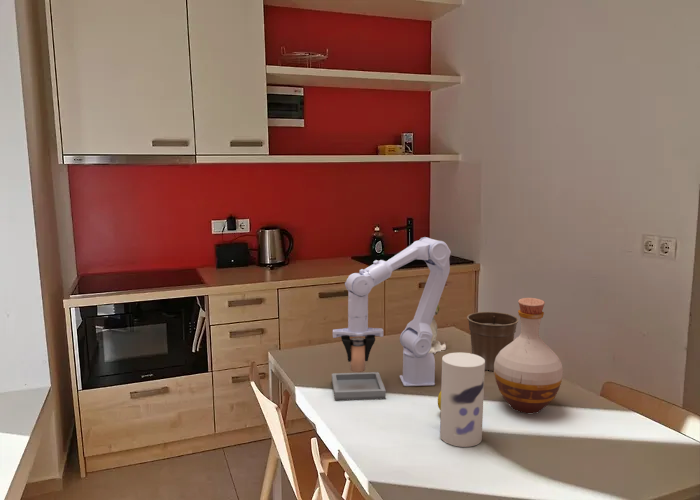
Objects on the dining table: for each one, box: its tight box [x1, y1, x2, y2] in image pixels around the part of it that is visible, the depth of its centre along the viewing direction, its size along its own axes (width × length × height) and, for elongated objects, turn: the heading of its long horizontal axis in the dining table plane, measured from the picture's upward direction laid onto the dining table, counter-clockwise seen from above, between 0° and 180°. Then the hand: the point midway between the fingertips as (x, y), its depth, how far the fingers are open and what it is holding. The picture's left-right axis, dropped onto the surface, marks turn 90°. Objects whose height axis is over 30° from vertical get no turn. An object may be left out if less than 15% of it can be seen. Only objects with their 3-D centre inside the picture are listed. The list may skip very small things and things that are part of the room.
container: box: [439, 352, 486, 448], centre depth 136 cm, size 10×10×20 cm
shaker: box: [349, 336, 366, 373], centre depth 164 cm, size 5×5×9 cm
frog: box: [429, 303, 447, 355], centre depth 202 cm, size 12×13×18 cm
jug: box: [493, 297, 564, 414], centre depth 153 cm, size 20×18×30 cm
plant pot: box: [466, 311, 519, 372], centre depth 186 cm, size 16×16×16 cm
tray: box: [331, 371, 387, 402], centre depth 166 cm, size 14×14×2 cm
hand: (357, 360), depth 165 cm, fingers closed on shaker, 4 cm apart
